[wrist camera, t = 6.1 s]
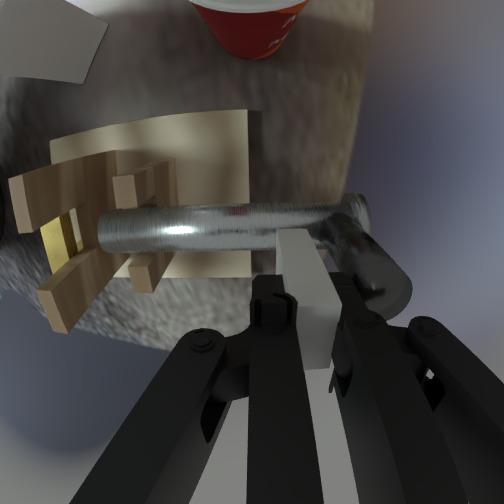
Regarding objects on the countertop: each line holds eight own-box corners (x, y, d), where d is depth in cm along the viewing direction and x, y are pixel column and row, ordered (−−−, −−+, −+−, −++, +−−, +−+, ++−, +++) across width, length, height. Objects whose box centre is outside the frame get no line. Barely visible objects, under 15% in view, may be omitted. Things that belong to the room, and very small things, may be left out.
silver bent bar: (125, 247, 21) (52, 331, 11) (116, 194, 19) (23, 252, 9) (345, 244, 21) (407, 335, 11) (350, 187, 19) (433, 245, 9)
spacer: (95, 243, 27) (54, 280, 20) (82, 170, 24) (32, 188, 16) (114, 243, 27) (75, 281, 20) (102, 167, 24) (53, 184, 16)
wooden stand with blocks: (79, 271, 30) (13, 343, 17) (55, 139, 23) (-42, 163, 10) (251, 271, 29) (249, 375, 17) (247, 110, 23) (239, 85, 10)
